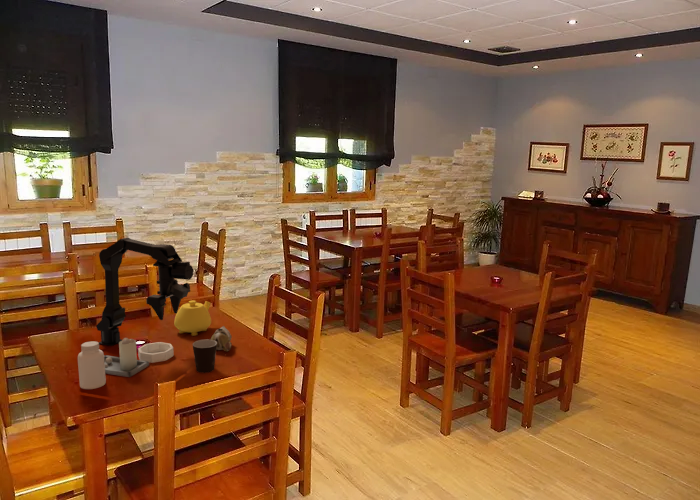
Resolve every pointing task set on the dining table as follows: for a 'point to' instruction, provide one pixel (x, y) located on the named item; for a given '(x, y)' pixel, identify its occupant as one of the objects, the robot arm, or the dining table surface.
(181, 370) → the dining table surface
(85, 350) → the pill bottle
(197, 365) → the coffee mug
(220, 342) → the ceramic sculpture
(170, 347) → the bowl
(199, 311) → the teapot
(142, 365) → the parts tray
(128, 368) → the pillar candle
